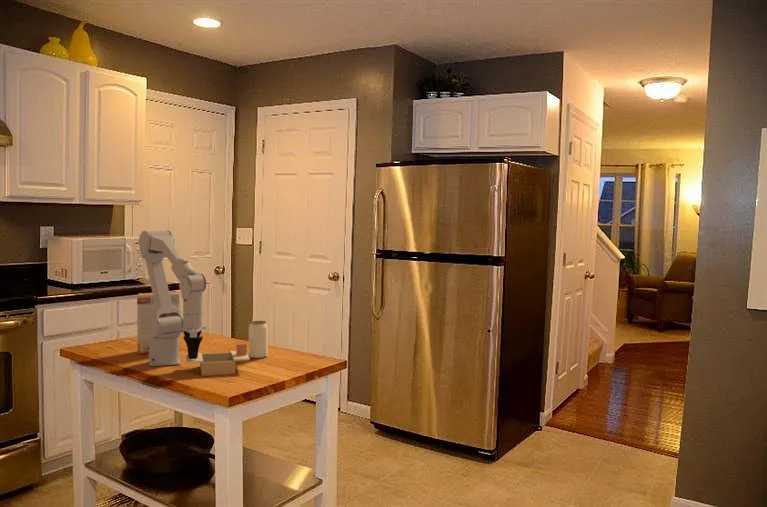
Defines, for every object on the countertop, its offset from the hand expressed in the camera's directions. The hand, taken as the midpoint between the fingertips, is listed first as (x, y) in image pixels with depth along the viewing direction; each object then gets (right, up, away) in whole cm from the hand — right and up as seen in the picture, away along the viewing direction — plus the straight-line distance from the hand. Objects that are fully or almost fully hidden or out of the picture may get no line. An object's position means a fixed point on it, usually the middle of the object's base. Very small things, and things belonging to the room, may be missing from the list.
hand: (192, 355), depth 190 cm
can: (+16, -4, +22) cm, 27 cm away
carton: (+7, -5, +3) cm, 9 cm away
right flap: (+14, -1, +5) cm, 15 cm away
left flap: (0, -1, 0) cm, 1 cm away
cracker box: (-20, -3, +25) cm, 32 cm away
